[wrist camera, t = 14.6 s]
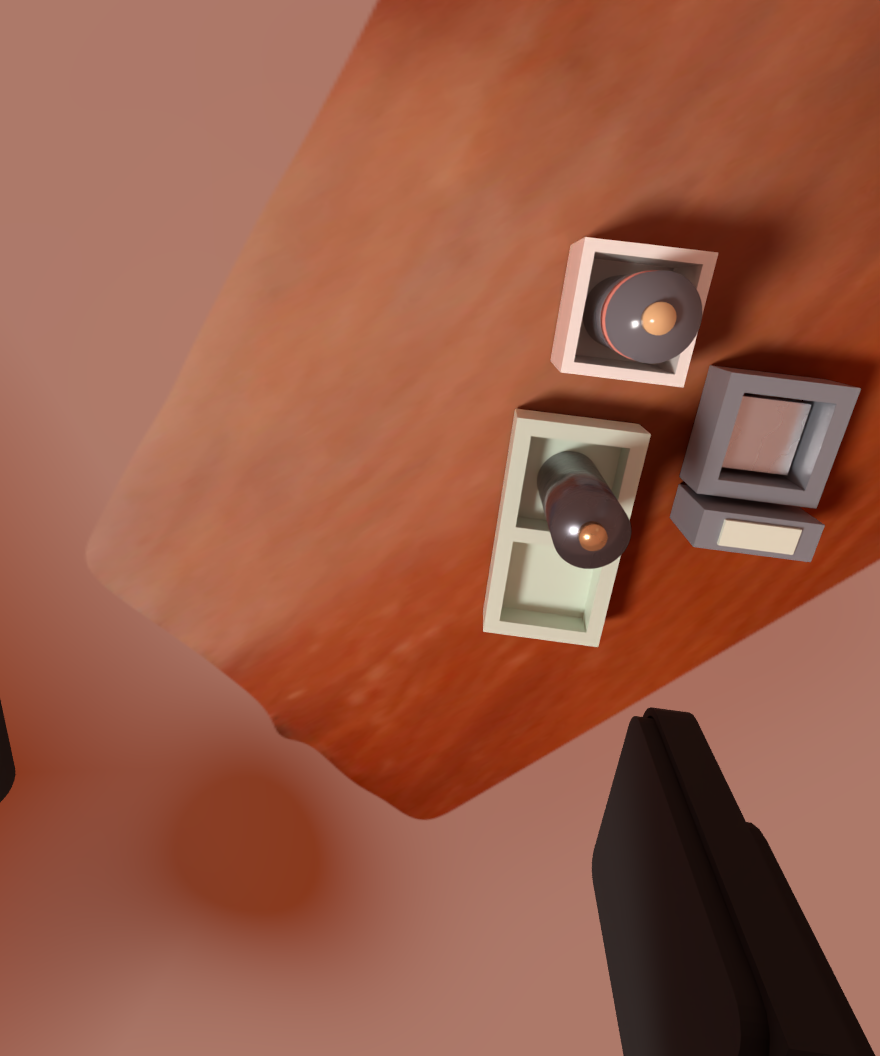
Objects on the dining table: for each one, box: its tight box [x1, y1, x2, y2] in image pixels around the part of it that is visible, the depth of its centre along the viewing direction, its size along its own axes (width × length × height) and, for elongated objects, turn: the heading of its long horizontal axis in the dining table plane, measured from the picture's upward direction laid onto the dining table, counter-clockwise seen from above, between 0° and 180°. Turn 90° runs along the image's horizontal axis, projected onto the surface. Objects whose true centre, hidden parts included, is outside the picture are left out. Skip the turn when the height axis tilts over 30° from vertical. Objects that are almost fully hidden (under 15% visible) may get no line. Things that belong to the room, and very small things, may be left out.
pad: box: [722, 394, 811, 475], centre depth 37 cm, size 4×4×2 cm
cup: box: [550, 237, 718, 387], centre depth 31 cm, size 7×7×10 cm
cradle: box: [670, 365, 861, 562], centre depth 36 cm, size 10×7×5 cm
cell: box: [537, 451, 631, 569], centre depth 35 cm, size 4×4×10 cm
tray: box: [483, 408, 651, 647], centre depth 40 cm, size 15×8×3 cm, turn 174°
